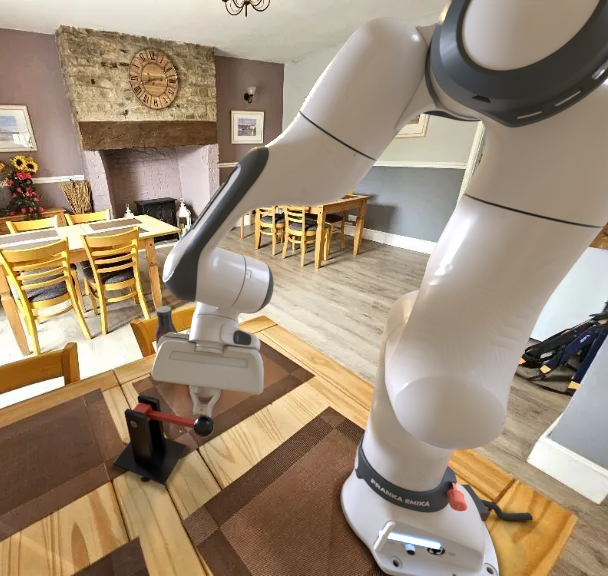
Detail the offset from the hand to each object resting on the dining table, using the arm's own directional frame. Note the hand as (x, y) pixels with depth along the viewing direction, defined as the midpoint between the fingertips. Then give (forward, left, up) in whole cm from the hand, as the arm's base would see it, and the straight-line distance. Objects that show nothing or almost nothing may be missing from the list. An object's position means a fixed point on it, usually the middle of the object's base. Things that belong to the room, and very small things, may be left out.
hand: (201, 415), depth 53 cm
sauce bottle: (+24, -26, -17) cm, 39 cm away
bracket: (+13, 0, -17) cm, 21 cm away
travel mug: (+11, -22, -17) cm, 30 cm away
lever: (+6, 0, -5) cm, 8 cm away
